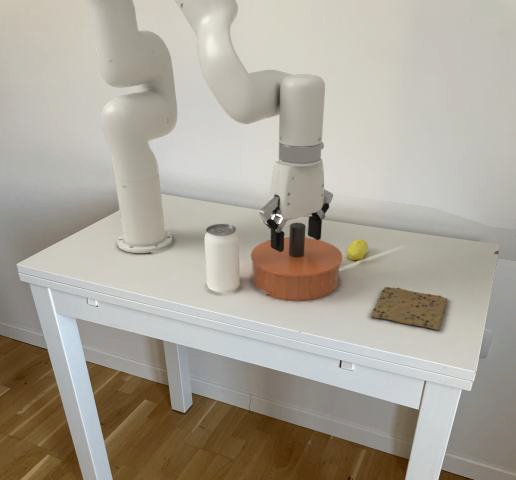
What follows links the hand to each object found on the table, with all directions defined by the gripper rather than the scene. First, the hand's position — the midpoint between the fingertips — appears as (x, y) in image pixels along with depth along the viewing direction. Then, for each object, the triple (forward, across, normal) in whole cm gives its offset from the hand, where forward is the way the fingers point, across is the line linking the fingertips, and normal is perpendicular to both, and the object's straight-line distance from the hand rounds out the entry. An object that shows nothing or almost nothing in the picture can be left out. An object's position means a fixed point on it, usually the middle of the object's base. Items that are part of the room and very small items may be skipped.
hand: (296, 243), depth 105 cm
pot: (+8, 0, 0) cm, 8 cm away
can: (+8, +13, -6) cm, 17 cm away
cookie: (+8, -9, +22) cm, 25 cm away
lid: (+3, 0, 0) cm, 3 cm away
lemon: (+8, -18, 0) cm, 20 cm away
